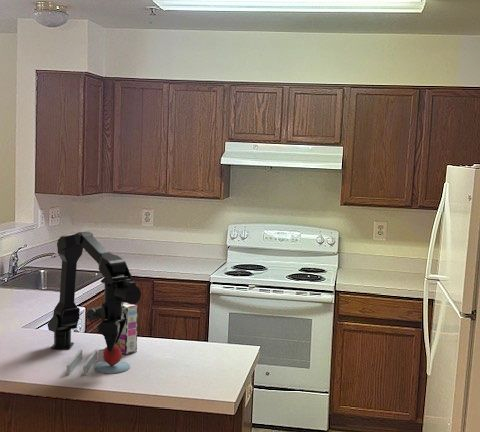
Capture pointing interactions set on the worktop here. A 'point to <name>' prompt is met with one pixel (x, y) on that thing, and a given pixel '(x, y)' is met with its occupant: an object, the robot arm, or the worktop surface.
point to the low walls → (78, 358)
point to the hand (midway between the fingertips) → (112, 346)
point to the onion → (112, 355)
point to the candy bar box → (129, 330)
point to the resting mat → (112, 367)
